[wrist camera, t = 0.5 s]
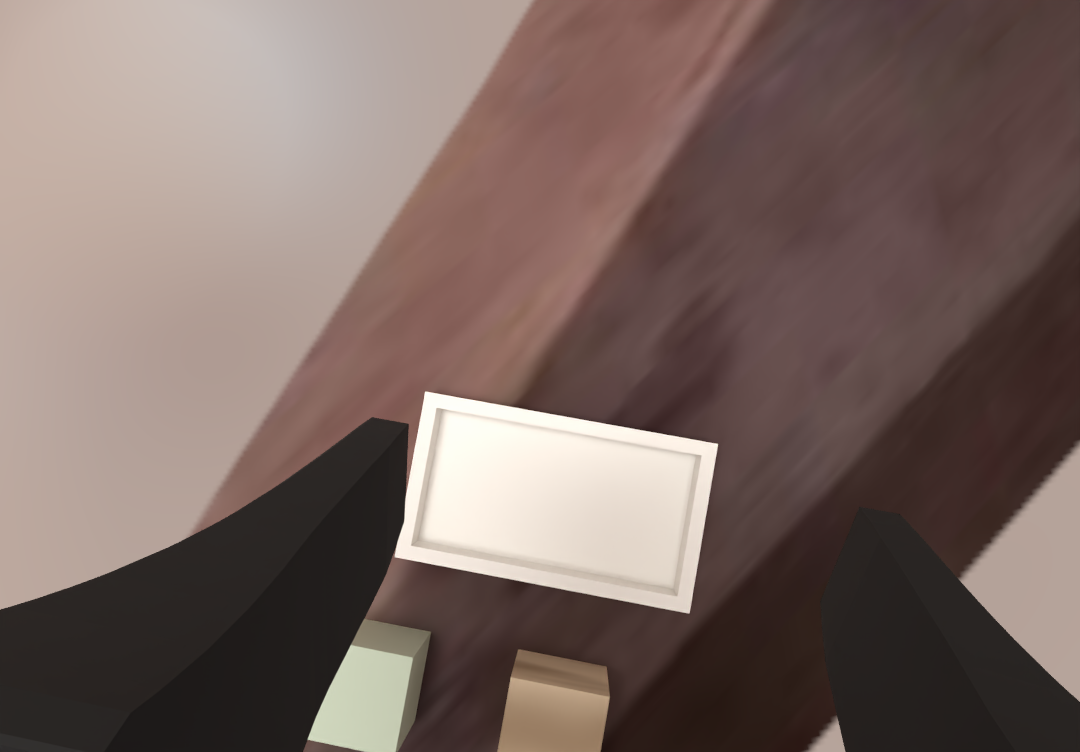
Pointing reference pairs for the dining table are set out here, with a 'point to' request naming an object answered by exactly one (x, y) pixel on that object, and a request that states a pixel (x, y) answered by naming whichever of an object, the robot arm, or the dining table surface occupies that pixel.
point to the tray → (557, 501)
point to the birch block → (554, 705)
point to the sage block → (374, 689)
